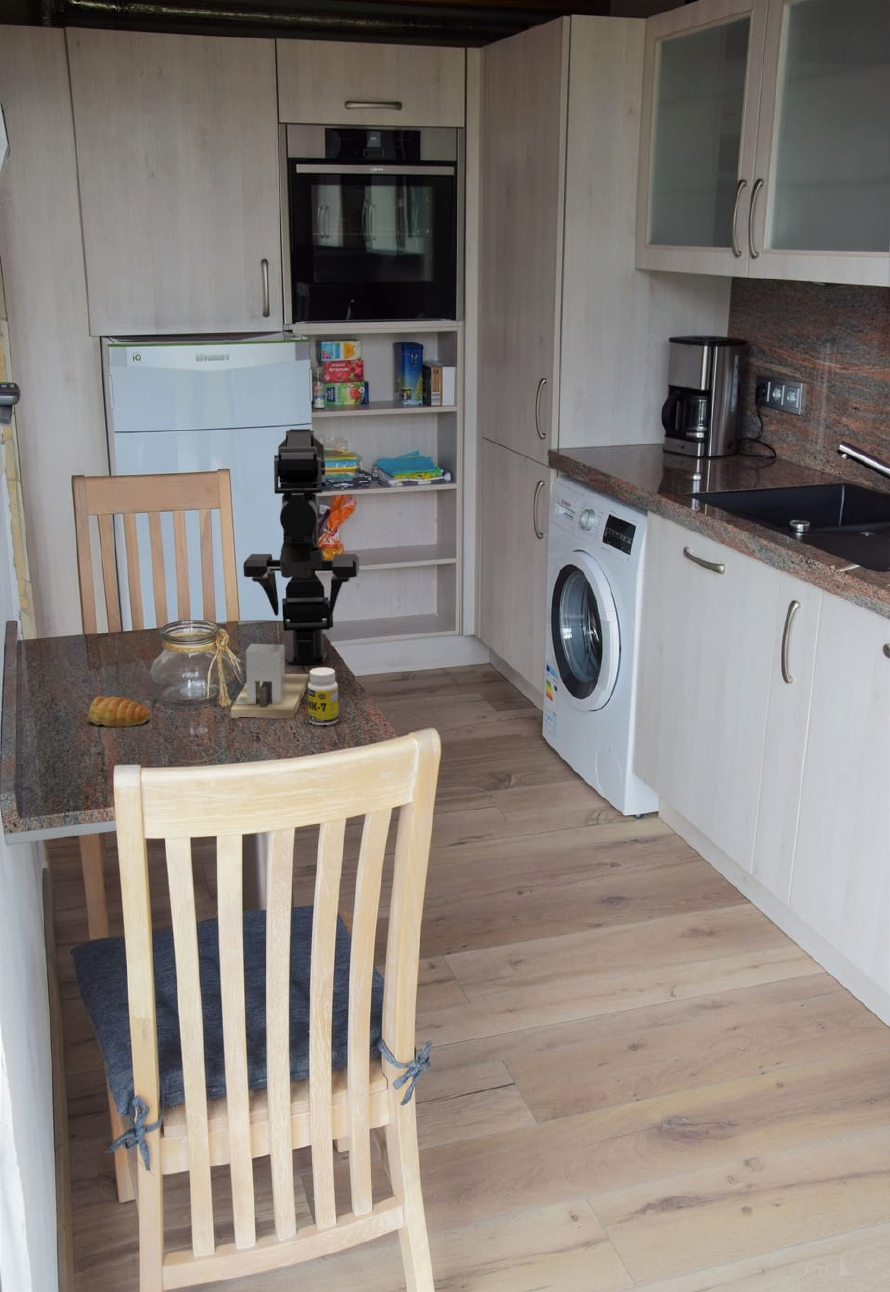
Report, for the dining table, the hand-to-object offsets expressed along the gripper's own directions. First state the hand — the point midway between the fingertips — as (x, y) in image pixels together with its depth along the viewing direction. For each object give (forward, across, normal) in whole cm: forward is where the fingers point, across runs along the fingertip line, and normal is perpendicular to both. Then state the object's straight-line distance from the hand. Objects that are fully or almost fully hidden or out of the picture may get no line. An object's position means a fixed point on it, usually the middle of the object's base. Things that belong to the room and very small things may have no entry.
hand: (303, 615), depth 201 cm
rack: (+13, -5, -6) cm, 15 cm away
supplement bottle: (+13, +5, -16) cm, 21 cm away
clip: (+11, -5, -11) cm, 17 cm away
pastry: (+14, -28, -16) cm, 35 cm away
